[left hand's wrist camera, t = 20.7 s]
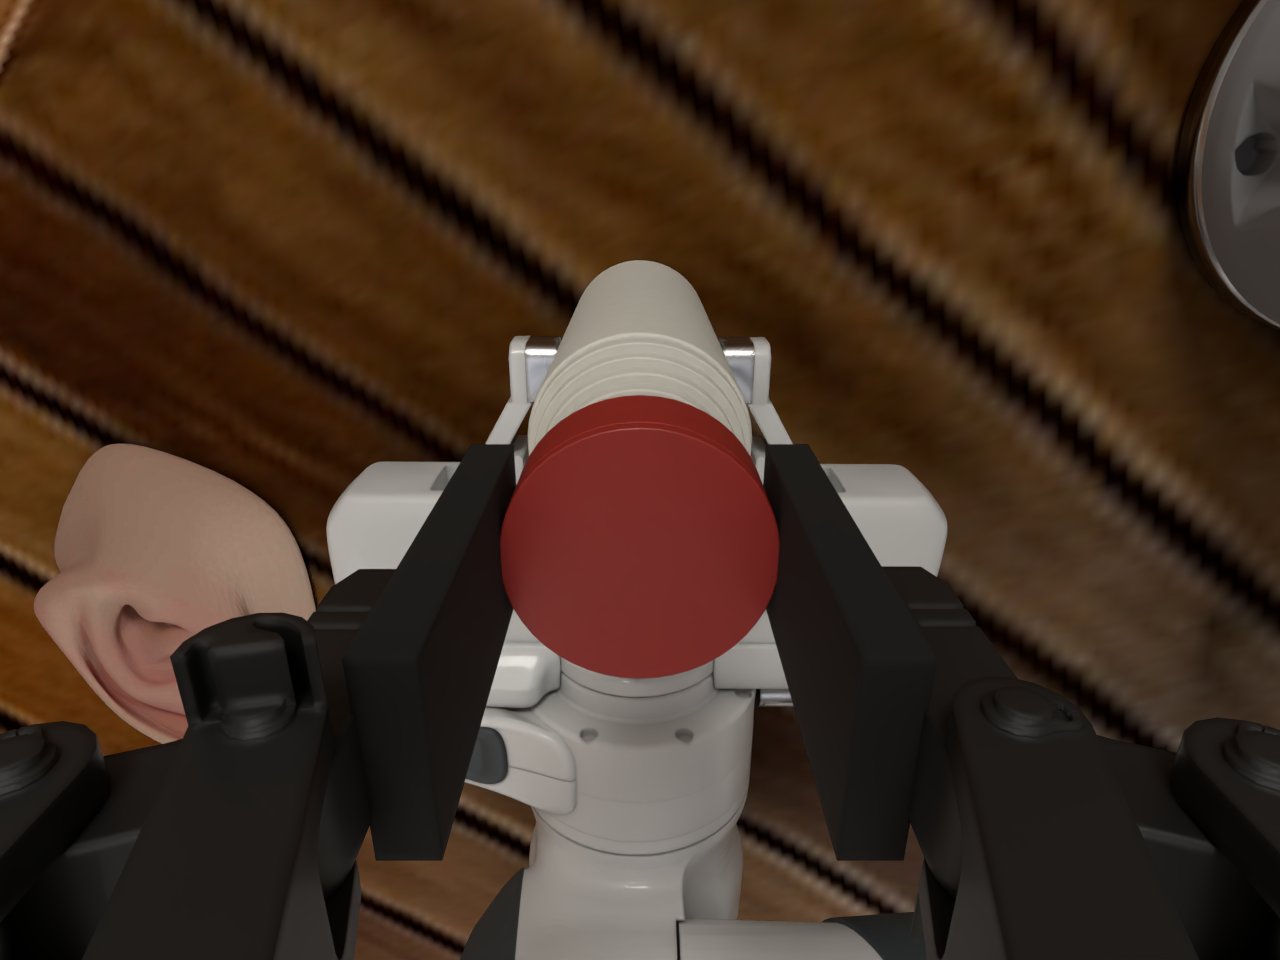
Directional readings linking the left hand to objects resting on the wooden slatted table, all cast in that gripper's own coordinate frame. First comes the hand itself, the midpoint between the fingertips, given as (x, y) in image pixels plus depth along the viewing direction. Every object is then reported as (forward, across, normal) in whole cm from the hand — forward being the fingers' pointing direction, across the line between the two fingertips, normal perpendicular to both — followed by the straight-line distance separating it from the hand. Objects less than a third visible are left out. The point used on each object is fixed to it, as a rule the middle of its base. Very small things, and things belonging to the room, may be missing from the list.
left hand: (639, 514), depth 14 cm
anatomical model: (+18, +20, +12) cm, 29 cm away
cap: (-2, 0, 0) cm, 2 cm away
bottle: (+18, 0, 0) cm, 18 cm away
